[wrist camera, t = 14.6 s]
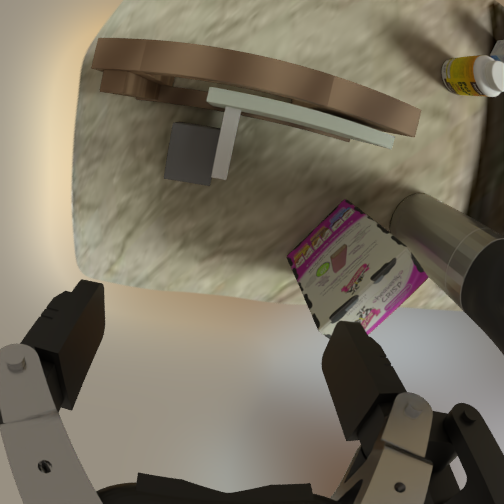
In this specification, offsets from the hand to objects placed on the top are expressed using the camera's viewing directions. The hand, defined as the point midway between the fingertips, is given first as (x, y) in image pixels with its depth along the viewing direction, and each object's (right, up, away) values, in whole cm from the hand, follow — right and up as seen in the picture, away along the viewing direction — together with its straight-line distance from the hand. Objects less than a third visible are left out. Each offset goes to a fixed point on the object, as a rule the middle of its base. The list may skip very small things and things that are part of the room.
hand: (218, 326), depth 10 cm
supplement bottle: (+30, +27, +24) cm, 47 cm away
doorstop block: (-5, +15, +26) cm, 30 cm away
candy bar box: (+11, +4, +32) cm, 34 cm away
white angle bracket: (+4, +15, +26) cm, 30 cm away
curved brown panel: (+1, +20, +24) cm, 32 cm away
